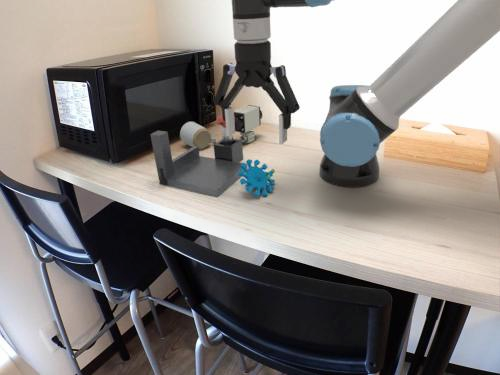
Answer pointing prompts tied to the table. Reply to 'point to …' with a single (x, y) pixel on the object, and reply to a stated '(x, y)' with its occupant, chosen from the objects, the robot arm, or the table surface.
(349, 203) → the table surface
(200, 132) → the ceramic mug
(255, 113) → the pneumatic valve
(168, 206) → the table surface
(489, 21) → the robot arm
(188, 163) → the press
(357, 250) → the table surface
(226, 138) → the plunger
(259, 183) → the blue lobed star wheel
